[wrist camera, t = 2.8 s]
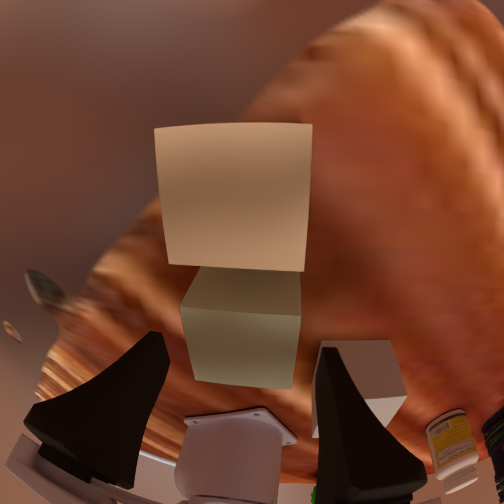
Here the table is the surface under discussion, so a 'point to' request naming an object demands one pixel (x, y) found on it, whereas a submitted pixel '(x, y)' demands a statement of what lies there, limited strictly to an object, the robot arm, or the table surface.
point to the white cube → (369, 376)
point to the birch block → (235, 193)
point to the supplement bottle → (453, 450)
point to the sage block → (243, 326)
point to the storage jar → (496, 447)
